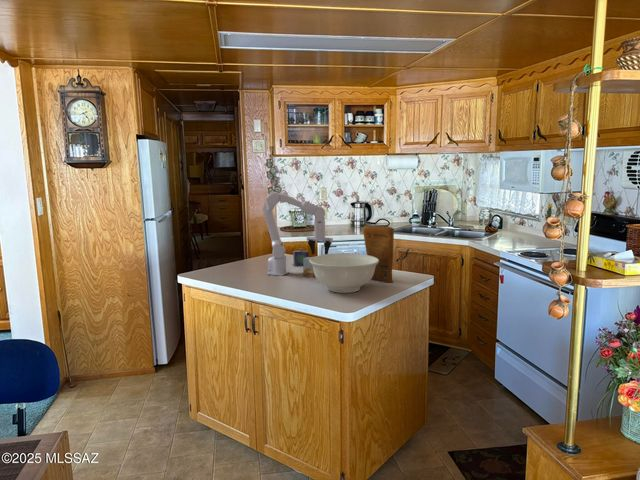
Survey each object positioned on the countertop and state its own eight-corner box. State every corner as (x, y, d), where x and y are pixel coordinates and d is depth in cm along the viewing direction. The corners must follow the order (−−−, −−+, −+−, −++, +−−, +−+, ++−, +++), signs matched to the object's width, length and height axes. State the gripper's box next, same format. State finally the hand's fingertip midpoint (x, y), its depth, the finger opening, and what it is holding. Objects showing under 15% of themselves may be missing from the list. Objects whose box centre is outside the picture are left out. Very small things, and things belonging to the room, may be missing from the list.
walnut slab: (302, 277, 250) (302, 272, 249) (307, 274, 255) (307, 270, 255) (312, 278, 247) (312, 273, 247) (317, 276, 253) (317, 271, 252)
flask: (292, 266, 275) (292, 248, 274) (294, 265, 278) (294, 247, 276) (308, 267, 273) (308, 248, 271) (309, 266, 276) (309, 248, 274)
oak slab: (303, 272, 250) (303, 268, 249) (308, 270, 254) (308, 265, 254) (312, 273, 247) (312, 268, 247) (317, 271, 252) (317, 266, 252)
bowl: (337, 277, 247) (337, 250, 244) (391, 287, 226) (391, 257, 224) (295, 290, 222) (295, 259, 220) (351, 302, 202) (352, 269, 199)
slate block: (303, 267, 249) (303, 258, 249) (307, 266, 254) (307, 256, 253) (311, 268, 247) (311, 259, 246) (316, 266, 252) (316, 257, 251)
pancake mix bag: (388, 284, 231) (389, 228, 227) (361, 278, 246) (361, 224, 241) (397, 282, 236) (398, 226, 231) (370, 276, 250) (370, 223, 246)
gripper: (304, 229, 252) (304, 254, 254) (329, 231, 246) (329, 256, 248) (309, 228, 258) (310, 252, 261) (334, 229, 252) (334, 254, 255)
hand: (319, 254), depth 255 cm, fingers open, 7 cm apart
